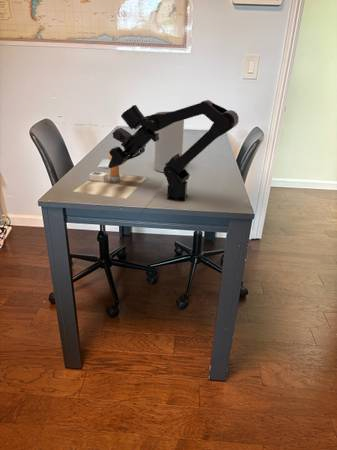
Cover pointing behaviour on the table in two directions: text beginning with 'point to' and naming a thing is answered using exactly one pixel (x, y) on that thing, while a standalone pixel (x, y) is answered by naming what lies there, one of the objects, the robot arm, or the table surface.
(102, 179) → the block
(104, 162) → the hard drive
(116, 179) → the awl
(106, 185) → the subfloor board
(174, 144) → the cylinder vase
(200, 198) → the table surface
